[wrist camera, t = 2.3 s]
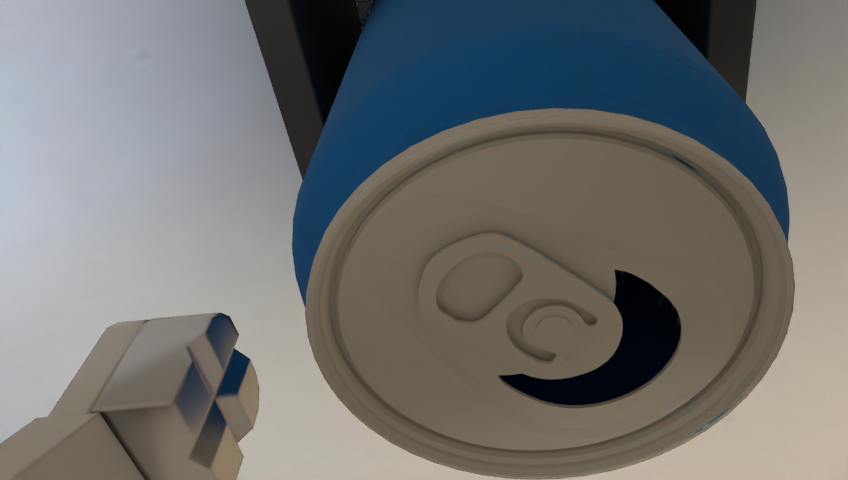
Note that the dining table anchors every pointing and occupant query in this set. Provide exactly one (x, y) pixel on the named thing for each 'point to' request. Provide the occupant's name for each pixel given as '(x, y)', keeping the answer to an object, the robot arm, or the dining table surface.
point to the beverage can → (540, 236)
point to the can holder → (340, 30)
